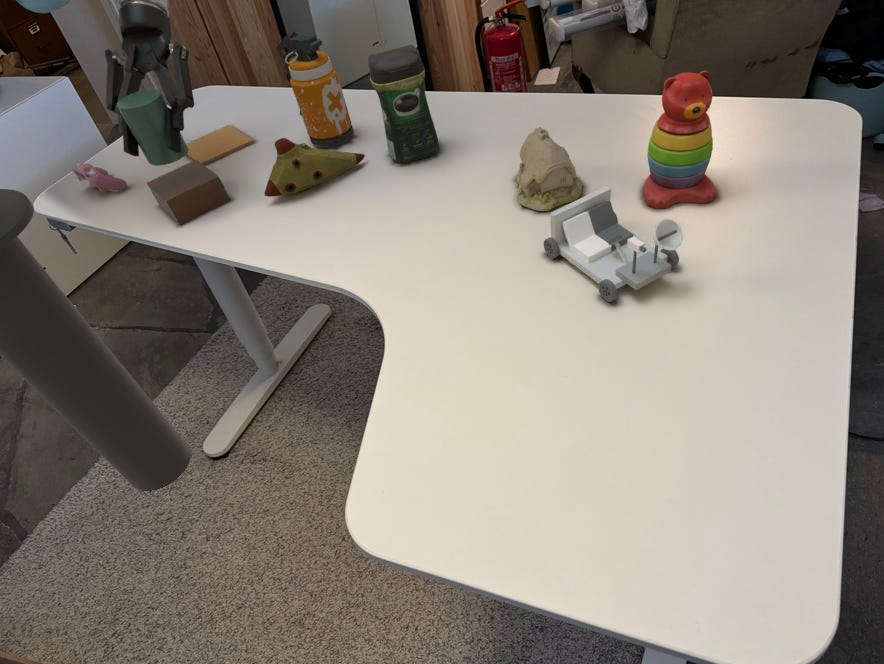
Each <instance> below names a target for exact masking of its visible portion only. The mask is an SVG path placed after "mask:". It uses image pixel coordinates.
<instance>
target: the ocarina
mask: <svg viewBox="0 0 884 664" xmlns="http://www.w3.org/2000/svg"><path fill="white" fill-rule="evenodd" d="M274 147H275V150H276V155H277V156H276V160H275V163H274V164H273V166H272V169H271V172H270V174H269V177H268V180H267V184H266V187H265V190H264V196H265V197H269V198H271V197H272V198H274V197H282V196H288V195H293V194H296V193H299V192H302V191H305V190H307V189H311V188H313V187H316V186H318V185H320V184H322V183H324V182H327V181H329V180H331V179H334V178H336V177H338V176H340V175H342V174H344V173H345V172H347V171H349V170H351V169H353V168H354V167H356V166H357V165H358V164H360V163H361V162H362V161H363V160H364V159H365V157H366V155H365V154H364V153H359V152H350V151H342V150H341V151H340V150H333V149H323V148H316V147H311V146H310V145H308V144H307V143H306V142H301V143H295V142H293V141H291V140H290V139H288V138H286V137H281V138H279V139H277V140H276V141H274Z"/></svg>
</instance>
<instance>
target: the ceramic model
mask: <svg viewBox="0 0 884 664" xmlns="http://www.w3.org/2000/svg"><path fill="white" fill-rule="evenodd" d="M519 157H520V160H521V162H520V163H519V169H518V171H517V176H516V183H517V184H518V190H517V200H518V203H519V204H520V205H521V206H523V207H524V208H525V207H526V208H528V209H531V210H533V211H538V212H539V211H540V212H548V211H551V210H552V209H555V208H556V207H559V206H562V205H565V204H569V203H572V202H574V201H576V200H578V199H579V197H581V194H582V189H583V181H582V180H581V178H580V177H579V176H578V175H577V171H576V167H575V165H574V164H573V162H572V159H571V158H570V155H569V153H568V151H567V149H565V147H564V146H561V145H560V144H558V143H557V142H555V141H554V140H553V138H552V137H550V135H549V131H548V130H547V129H546V128H545V129H544V128H542V127H541V126H540V127H536V128H535V129H534V130H533V131H532V132H530V133H528V134H527V136H526V138H525V140H524V141H523V143H522V145H521V147H520V150H519Z"/></svg>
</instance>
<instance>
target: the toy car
mask: <svg viewBox="0 0 884 664" xmlns="http://www.w3.org/2000/svg"><path fill="white" fill-rule="evenodd" d="M611 195H612V189H611V187H609V186H607V185H606V186H603V187H601V188H600V189H597V190H594V191H593V192H591V193H589V194H586V195H585V196H582V197H580V198H577V199H576V200H574V201H571V202H569V203H567V204H566V205H564V206H562V207H559V208H558V209H556V210H554V211H552V212H550V213H549V217H550V218H549V219H550V237H547V238H545V239H544V240H543V249H544V251H545V254H546V255H547V256H548V257H549V258H550V259H556V258H558V257H559V256H562V257H563V258H564V259H565V260H567V261H568V262H569V263H571V264H572V265H573V266H574V267H576V268H578V269H579V270H580V271H581V272H582V273H584V274H585V275H586V276H588V277H589V278H590V279H592V280H593V281H594V282H596V283H597V284H598V291H599V294H600V296H601V298H602V299H604V300H605V301H606V302H608V303H611V302H613V301H615V300H616V299H618V289H621V288H622V287H623V286H626V285H628V286H629V287H630V288H632V289H634V290H635V291H638V290H639V289H641V288H643V287H645V286H647V285H648V284H650V283H652V282H654V281H656V280H658V279H659V278H661V277H663V276H665V275H666V274H668V273H670V272H671V271H672V269H674V268H675V267H677V266H678V265H679V263H680V256H679V254H678V252H677V249H678V248H679V247H680V246H681V245H682V243H683V241H684V233H683V230H682V228H681V226H680V224H679V223H678V222H677V221H675V220H674V219H671V218H664V219H661V220H660V221H659V222H658V223H657V224H656V226H655V228H654V231H653V235H652V240H653V243H654V246H653V245H652V244H650V243H649V242H647V241H645V240H644V239H642V238H641V237H640V236H638V235H636V234H635V233H633V232H632V231H630V230H628V229H627V228H625V227H624V226H622V225H620V224H619V219H618V216H617V214H616V212H615V211H614V208H613V204H612V201H611V199H612V197H611ZM659 248H661V249H660V250H659Z"/></svg>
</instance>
